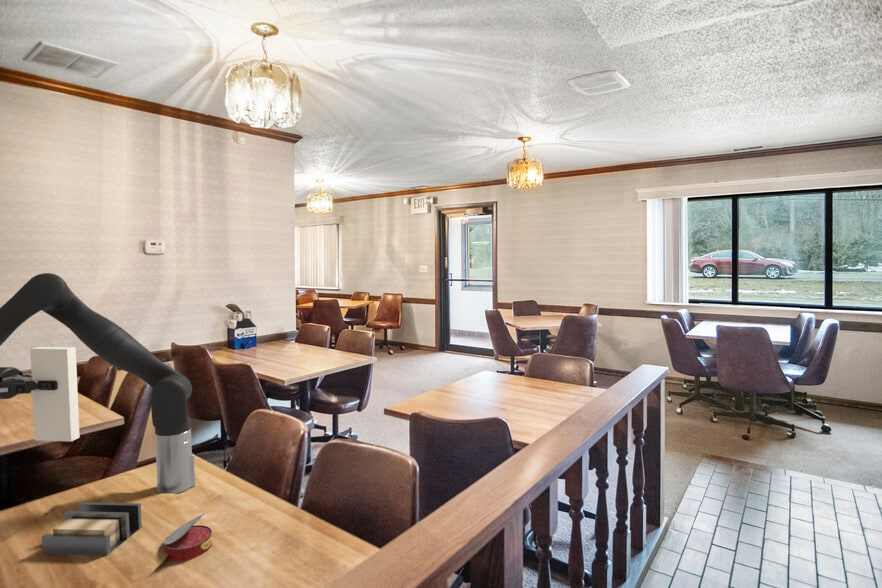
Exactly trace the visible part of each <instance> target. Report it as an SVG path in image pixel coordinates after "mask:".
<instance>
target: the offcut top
mask: <svg viewBox="0 0 882 588" xmlns="http://www.w3.org/2000/svg"><path fill="white" fill-rule="evenodd" d="M118 530H119V519H77V518H69V519H68V520H66V521H65V520H64V521H63V522H62V523H60V524H58V525H56V526H55V527H54V528H52V534H67V535H110V536H112V535H113V534H114V533H116V532H117V531H118Z"/></svg>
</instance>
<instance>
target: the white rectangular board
mask: <svg viewBox="0 0 882 588" xmlns="http://www.w3.org/2000/svg"><path fill="white" fill-rule="evenodd" d="M76 349H77V348H76V347H74V346H73V347H71V346H67V347H66V346H38V347H33V348H30V349H29V351H30V370H31V372H30V373H31V375H32V379H33V380H40V381H42V380H54V381H57V386H58V388H57V390H40V391H38V392H36V391H32V392H31V393H32V409H33V411H32V412H33V428H34V430H33V431H34V441H37V442H38V441H41V442H74V441H75V440H77V439H79V438H80V417H79V415H80V413H79V394H78V373H77V372H78V371H77V370H78V369H77V351H76Z"/></svg>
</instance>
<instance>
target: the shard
mask: <svg viewBox="0 0 882 588" xmlns="http://www.w3.org/2000/svg"><path fill="white" fill-rule="evenodd" d="M64 505H65V503H60V504H55V505H52V506H51V507H50V508H49V509H48V510H47V512H45V513H44V514H43V515H42V518H45V517H47V516H48V515H50V514H51V513H53V512H54V511H57V510H58V509H60V508H61V507H63V506H64Z"/></svg>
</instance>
